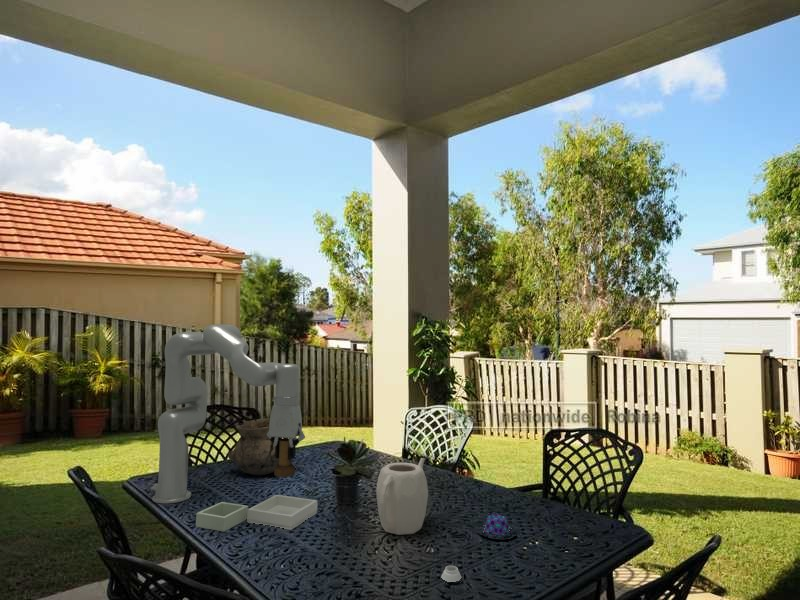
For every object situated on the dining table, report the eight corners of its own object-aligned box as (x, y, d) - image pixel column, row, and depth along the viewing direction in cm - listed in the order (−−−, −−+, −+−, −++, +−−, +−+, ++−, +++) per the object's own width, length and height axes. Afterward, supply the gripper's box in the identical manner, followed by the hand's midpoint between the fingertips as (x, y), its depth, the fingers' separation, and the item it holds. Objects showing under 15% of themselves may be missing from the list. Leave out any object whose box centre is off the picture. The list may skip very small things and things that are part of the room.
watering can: (444, 519, 163) (445, 460, 165) (404, 548, 140) (405, 479, 142) (403, 510, 171) (403, 453, 172) (358, 536, 148) (359, 471, 149)
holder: (195, 526, 154) (196, 513, 154) (221, 514, 165) (221, 501, 165) (223, 531, 150) (224, 517, 150) (247, 518, 161) (248, 505, 161)
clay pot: (221, 471, 215) (223, 420, 217) (271, 462, 231) (272, 415, 233) (247, 485, 197) (249, 429, 198) (300, 474, 213) (301, 423, 214)
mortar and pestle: (289, 477, 160) (290, 420, 161) (270, 476, 161) (272, 419, 162) (298, 472, 166) (299, 417, 167) (279, 470, 167) (281, 416, 169)
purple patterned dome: (479, 542, 146) (479, 523, 147) (474, 526, 158) (474, 509, 159) (520, 543, 146) (520, 525, 146) (513, 527, 158) (513, 510, 158)
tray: (247, 522, 158) (247, 509, 158) (276, 506, 173) (276, 494, 173) (291, 529, 152) (291, 516, 153) (317, 512, 167) (317, 500, 168)
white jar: (460, 587, 120) (462, 577, 124) (460, 574, 120) (463, 565, 125) (439, 584, 121) (442, 574, 126) (439, 571, 121) (443, 562, 126)
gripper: (258, 401, 165) (256, 458, 163) (303, 404, 159) (301, 463, 157) (271, 398, 172) (270, 453, 170) (314, 401, 166) (313, 458, 165)
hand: (285, 457), depth 164 cm, fingers closed on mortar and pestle, 4 cm apart
